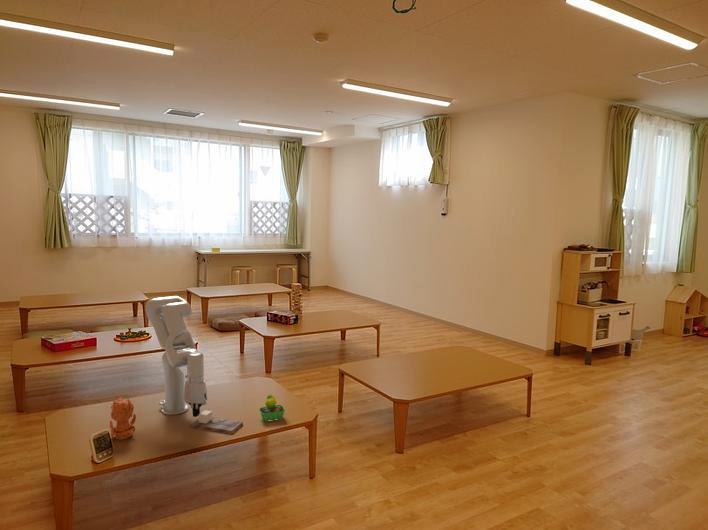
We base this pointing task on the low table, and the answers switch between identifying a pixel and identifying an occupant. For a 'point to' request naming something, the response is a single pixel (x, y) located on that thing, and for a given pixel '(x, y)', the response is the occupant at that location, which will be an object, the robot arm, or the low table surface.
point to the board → (218, 425)
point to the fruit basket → (271, 409)
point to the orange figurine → (122, 419)
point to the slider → (205, 416)
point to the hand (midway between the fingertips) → (196, 415)
